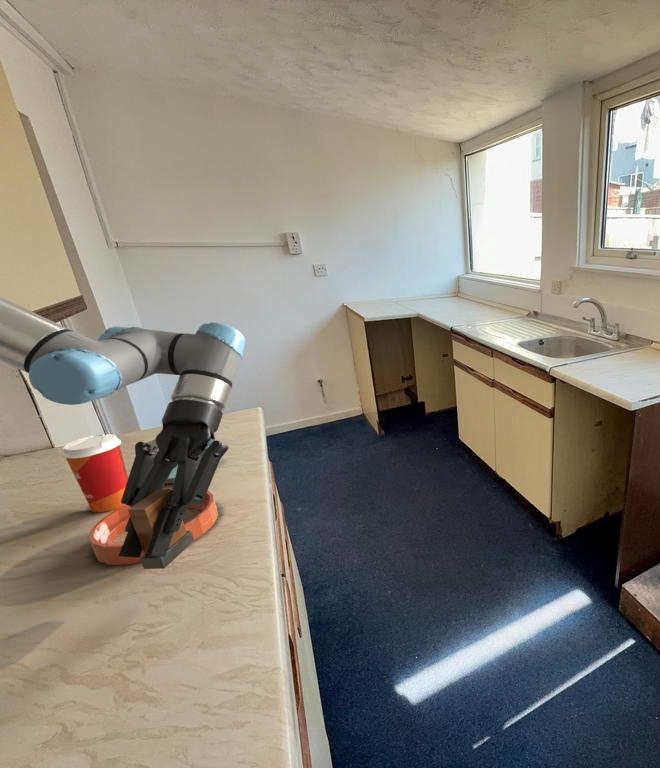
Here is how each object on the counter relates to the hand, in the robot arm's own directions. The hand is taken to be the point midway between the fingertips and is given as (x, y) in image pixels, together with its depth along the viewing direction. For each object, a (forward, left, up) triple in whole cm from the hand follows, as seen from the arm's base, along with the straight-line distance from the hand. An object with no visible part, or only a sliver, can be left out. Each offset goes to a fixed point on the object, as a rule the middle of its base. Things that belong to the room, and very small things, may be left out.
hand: (142, 556), depth 57 cm
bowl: (-12, +16, -9) cm, 22 cm away
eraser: (0, +4, -3) cm, 5 cm away
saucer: (-24, +39, -9) cm, 47 cm away
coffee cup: (-29, +25, -9) cm, 39 cm away
